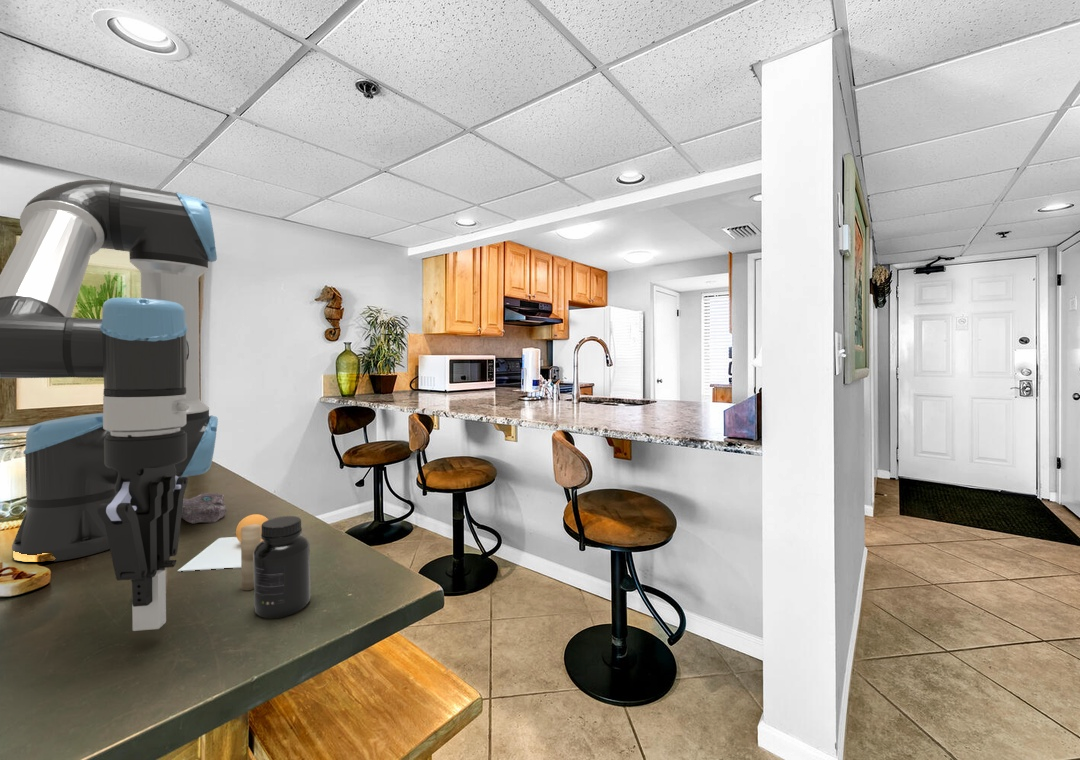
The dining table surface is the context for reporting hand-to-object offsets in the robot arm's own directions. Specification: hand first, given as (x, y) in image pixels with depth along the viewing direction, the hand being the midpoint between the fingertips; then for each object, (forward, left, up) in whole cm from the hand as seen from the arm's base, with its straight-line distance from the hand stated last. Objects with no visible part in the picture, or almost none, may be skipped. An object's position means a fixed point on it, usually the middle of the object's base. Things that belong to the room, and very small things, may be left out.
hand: (149, 626), depth 56 cm
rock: (-48, -17, -2) cm, 51 cm away
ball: (-30, 0, +1) cm, 30 cm away
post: (-13, +6, -2) cm, 15 cm away
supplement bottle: (-6, +13, -2) cm, 14 cm away
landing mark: (-27, 0, -2) cm, 27 cm away
